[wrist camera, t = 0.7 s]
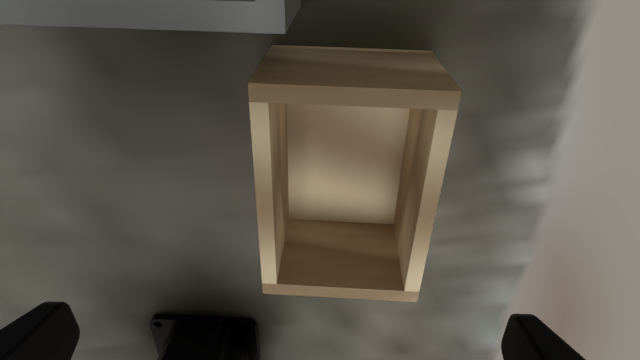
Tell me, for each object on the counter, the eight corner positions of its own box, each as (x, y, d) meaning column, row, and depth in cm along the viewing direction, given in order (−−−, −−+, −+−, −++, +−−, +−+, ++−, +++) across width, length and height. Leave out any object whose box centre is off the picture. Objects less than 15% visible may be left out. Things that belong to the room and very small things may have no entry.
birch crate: (402, 226, 21) (416, 302, 17) (279, 220, 21) (262, 293, 17) (431, 49, 16) (462, 91, 12) (272, 43, 16) (247, 83, 12)
